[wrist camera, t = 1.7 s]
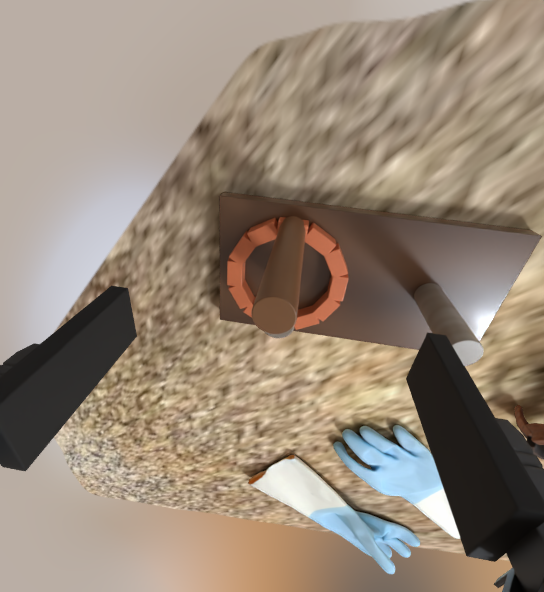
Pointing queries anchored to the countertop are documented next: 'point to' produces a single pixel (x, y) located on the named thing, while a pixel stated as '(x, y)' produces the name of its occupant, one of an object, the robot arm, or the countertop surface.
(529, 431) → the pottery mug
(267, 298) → the ring
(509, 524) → the robot arm
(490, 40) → the countertop surface
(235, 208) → the rack
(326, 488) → the rubber gloves
